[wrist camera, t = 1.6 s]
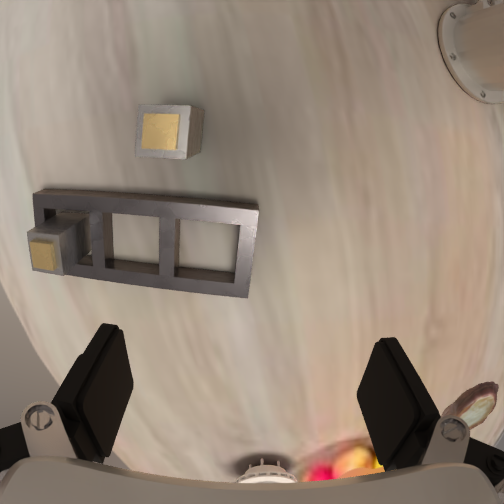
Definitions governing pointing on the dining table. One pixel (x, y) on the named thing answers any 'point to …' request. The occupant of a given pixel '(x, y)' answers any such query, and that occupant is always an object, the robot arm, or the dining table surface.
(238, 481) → the mechanical part
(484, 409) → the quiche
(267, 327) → the dining table surface
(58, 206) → the rail
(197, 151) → the brushed metal block
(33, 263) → the grey tan rectangular block
